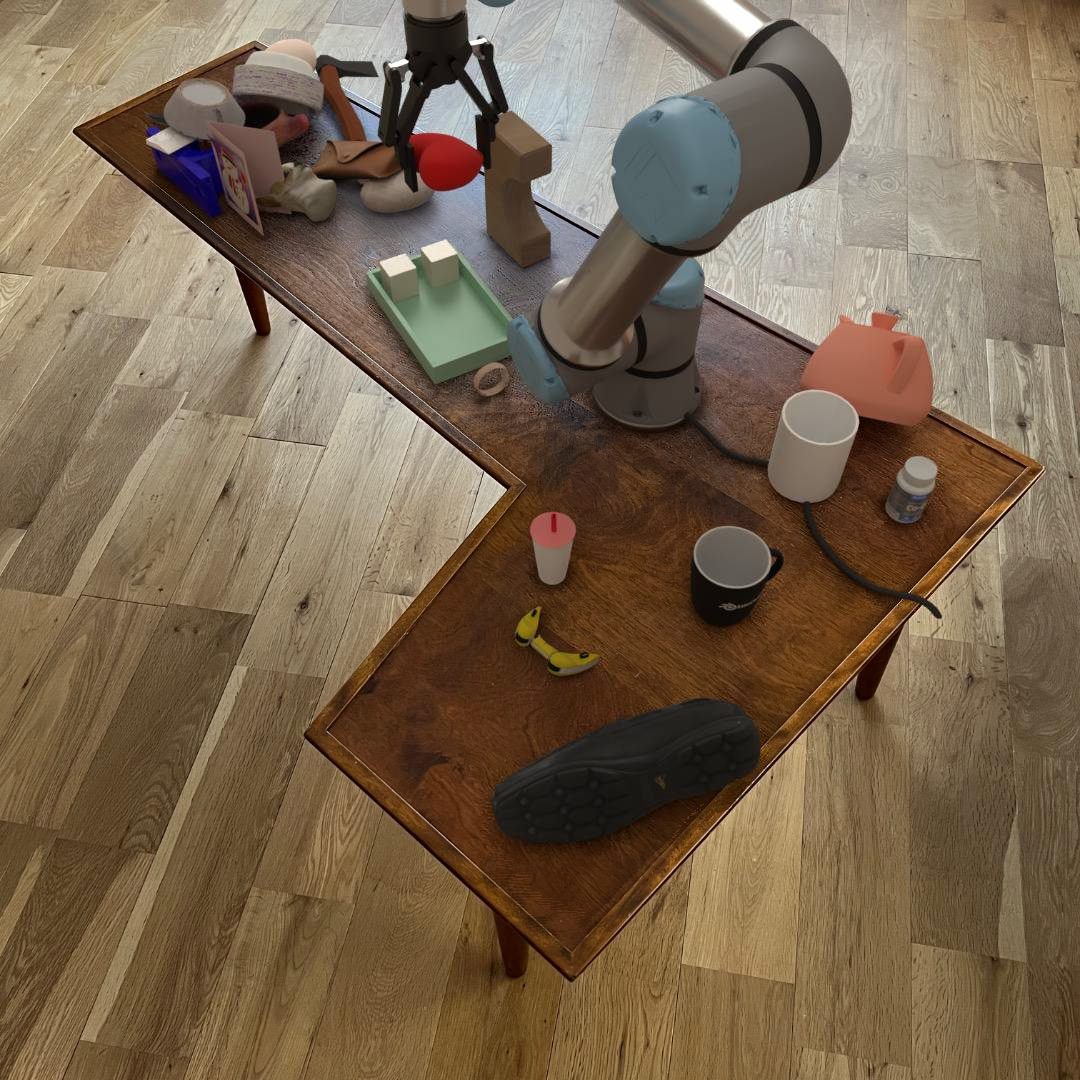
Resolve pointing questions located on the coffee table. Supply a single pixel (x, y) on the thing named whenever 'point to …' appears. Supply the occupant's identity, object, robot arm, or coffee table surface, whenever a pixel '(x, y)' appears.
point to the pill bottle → (911, 490)
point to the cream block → (440, 263)
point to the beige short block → (399, 278)
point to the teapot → (874, 370)
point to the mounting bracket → (192, 173)
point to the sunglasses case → (356, 160)
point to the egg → (296, 50)
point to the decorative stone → (393, 194)
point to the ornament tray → (448, 322)
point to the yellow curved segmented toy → (557, 660)
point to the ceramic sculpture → (301, 192)
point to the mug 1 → (730, 574)
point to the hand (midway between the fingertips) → (448, 175)
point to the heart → (445, 161)
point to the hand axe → (335, 96)
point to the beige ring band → (499, 387)
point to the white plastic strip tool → (169, 140)
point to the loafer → (627, 771)
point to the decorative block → (517, 190)
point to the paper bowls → (279, 83)
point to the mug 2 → (812, 445)
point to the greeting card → (246, 167)
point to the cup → (552, 545)
